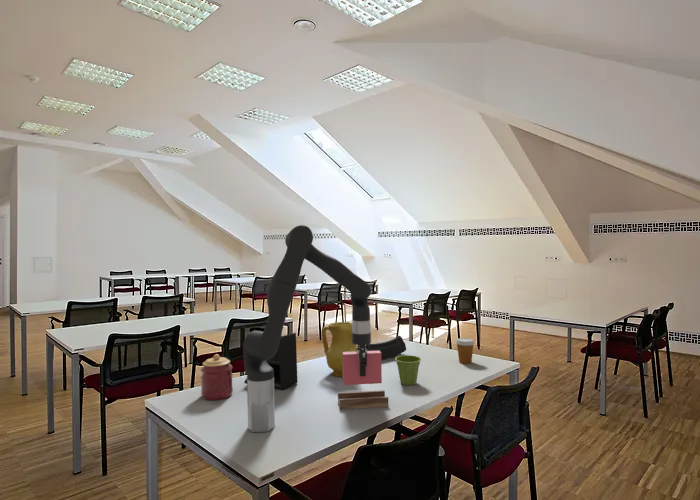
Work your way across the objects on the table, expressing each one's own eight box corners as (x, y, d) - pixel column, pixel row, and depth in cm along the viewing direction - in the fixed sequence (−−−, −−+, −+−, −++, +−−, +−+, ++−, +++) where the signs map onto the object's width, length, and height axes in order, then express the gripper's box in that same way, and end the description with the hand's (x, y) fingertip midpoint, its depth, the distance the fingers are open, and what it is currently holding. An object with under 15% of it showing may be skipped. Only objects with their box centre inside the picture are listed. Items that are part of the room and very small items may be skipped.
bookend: (243, 382, 205) (243, 332, 205) (260, 376, 215) (259, 328, 214) (282, 390, 193) (281, 337, 193) (298, 384, 202) (297, 332, 202)
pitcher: (342, 380, 205) (340, 325, 206) (318, 373, 219) (317, 323, 221) (369, 373, 216) (367, 322, 218) (344, 368, 231) (343, 320, 232)
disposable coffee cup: (454, 359, 239) (454, 337, 239) (472, 359, 239) (472, 337, 239) (458, 364, 230) (457, 341, 230) (476, 364, 229) (476, 341, 229)
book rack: (388, 406, 172) (388, 397, 172) (339, 409, 170) (339, 400, 170) (384, 398, 181) (384, 390, 181) (338, 401, 179) (337, 392, 179)
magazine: (362, 347, 233) (401, 324, 250) (358, 346, 235) (397, 323, 253) (369, 377, 236) (407, 352, 253) (365, 375, 238) (403, 351, 256)
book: (381, 383, 174) (381, 352, 174) (343, 385, 172) (343, 354, 172) (379, 380, 178) (379, 350, 178) (342, 381, 176) (342, 352, 176)
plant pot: (390, 383, 201) (389, 358, 200) (406, 377, 209) (405, 353, 209) (411, 389, 192) (410, 363, 192) (426, 382, 201) (426, 358, 201)
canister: (224, 388, 197) (223, 349, 197) (238, 395, 187) (237, 354, 187) (196, 395, 189) (195, 354, 188) (208, 403, 179) (208, 359, 179)
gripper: (373, 334, 168) (374, 379, 169) (368, 327, 183) (368, 369, 183) (354, 335, 168) (354, 380, 168) (350, 328, 182) (350, 369, 182)
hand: (362, 374), depth 175 cm, fingers closed on book, 4 cm apart
